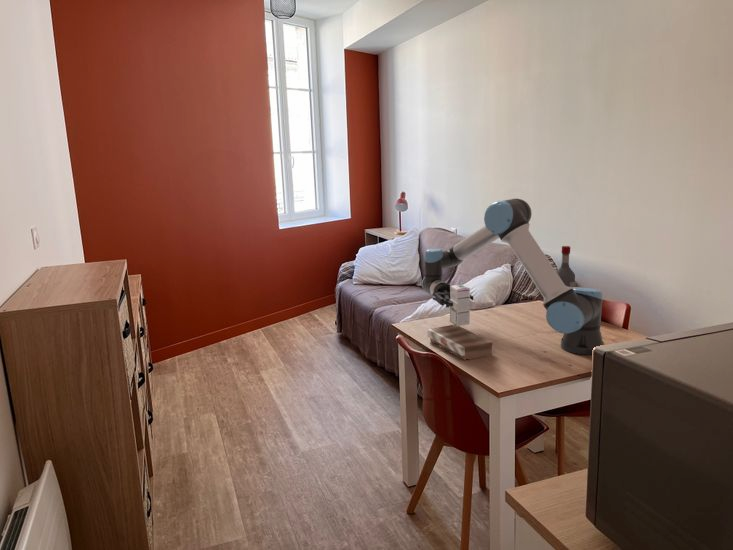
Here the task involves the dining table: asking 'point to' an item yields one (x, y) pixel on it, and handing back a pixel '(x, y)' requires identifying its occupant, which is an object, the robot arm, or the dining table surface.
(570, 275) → the liquor
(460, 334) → the striped flat box
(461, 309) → the syrup box
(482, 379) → the dining table surface
